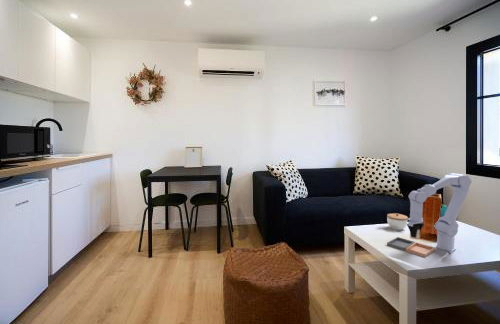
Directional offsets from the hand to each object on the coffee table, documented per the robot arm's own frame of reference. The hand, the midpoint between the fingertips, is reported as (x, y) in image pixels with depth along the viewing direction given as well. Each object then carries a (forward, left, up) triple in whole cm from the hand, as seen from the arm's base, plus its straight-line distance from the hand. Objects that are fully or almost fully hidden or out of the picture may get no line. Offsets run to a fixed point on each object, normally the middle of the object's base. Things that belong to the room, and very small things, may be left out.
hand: (415, 236), depth 142 cm
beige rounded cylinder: (0, 0, -1) cm, 1 cm away
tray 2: (0, +3, -9) cm, 9 cm away
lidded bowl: (-30, -22, -9) cm, 38 cm away
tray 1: (0, -7, -9) cm, 11 cm away
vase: (-43, 0, -9) cm, 44 cm away
